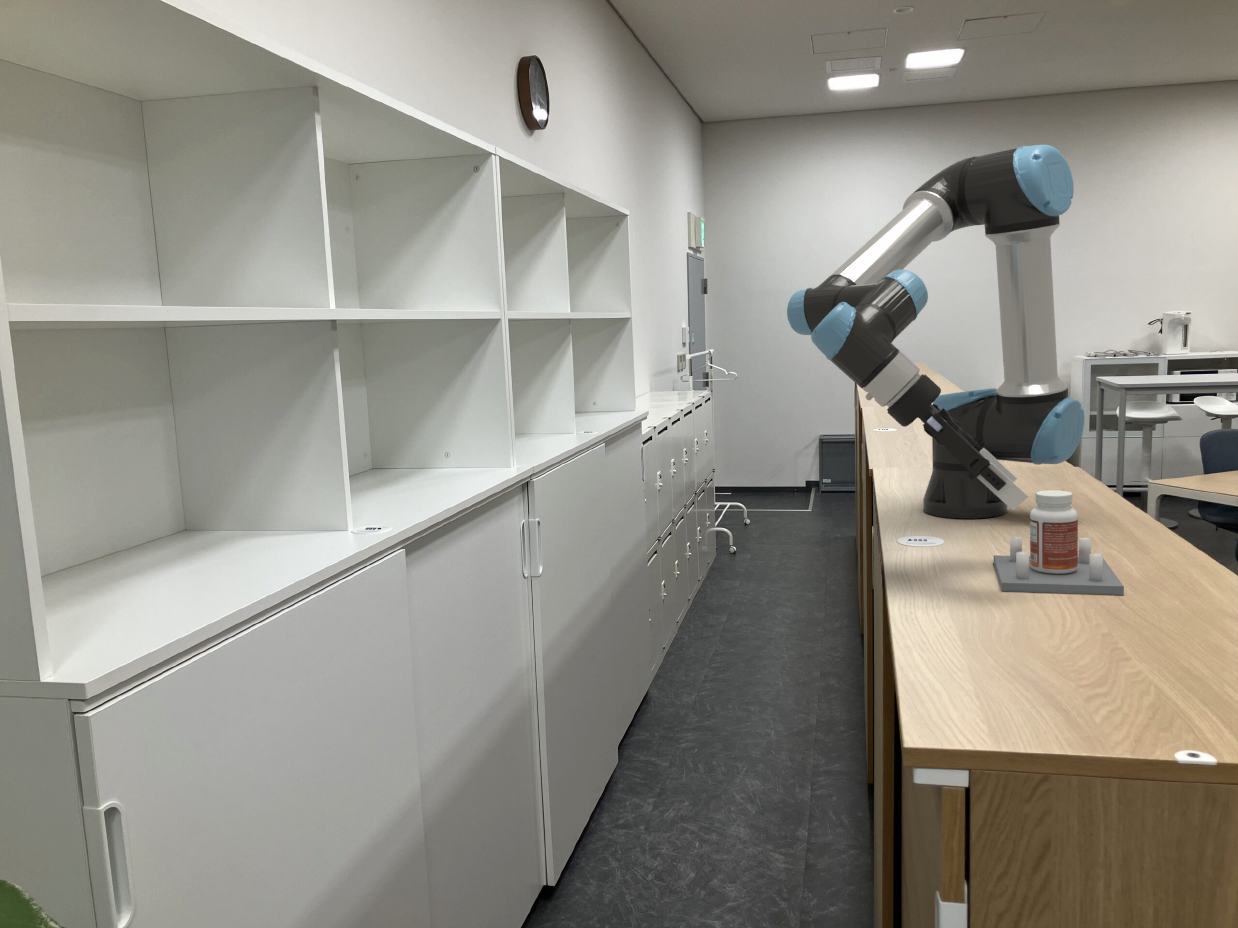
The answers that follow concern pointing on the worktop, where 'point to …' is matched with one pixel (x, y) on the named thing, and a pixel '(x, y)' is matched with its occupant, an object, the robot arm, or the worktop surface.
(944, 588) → the worktop surface
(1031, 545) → the pill bottle
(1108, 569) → the peg board
